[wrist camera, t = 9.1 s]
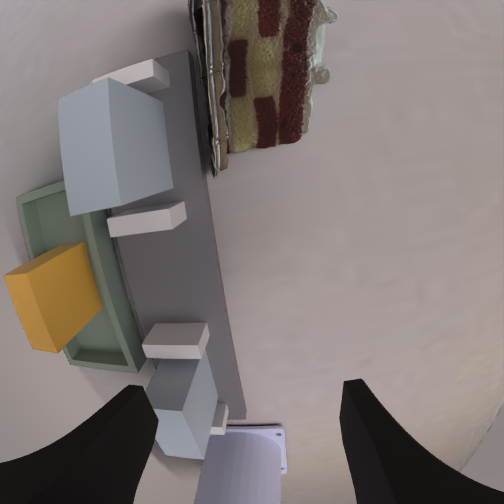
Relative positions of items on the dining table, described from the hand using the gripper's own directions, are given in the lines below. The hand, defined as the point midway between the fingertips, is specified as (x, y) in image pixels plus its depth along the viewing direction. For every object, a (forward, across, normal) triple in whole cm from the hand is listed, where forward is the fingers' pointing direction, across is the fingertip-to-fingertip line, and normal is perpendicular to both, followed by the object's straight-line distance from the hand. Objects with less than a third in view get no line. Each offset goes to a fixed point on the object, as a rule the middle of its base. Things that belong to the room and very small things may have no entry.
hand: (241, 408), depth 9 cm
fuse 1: (+8, +5, -10) cm, 14 cm away
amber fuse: (+9, +12, -2) cm, 16 cm away
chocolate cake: (+10, -2, -13) cm, 17 cm away
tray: (+9, +12, -2) cm, 16 cm away
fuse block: (+9, +5, -2) cm, 11 cm away
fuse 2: (+8, +5, +6) cm, 11 cm away
